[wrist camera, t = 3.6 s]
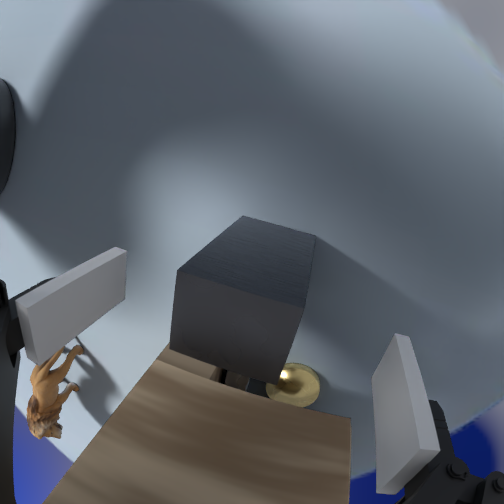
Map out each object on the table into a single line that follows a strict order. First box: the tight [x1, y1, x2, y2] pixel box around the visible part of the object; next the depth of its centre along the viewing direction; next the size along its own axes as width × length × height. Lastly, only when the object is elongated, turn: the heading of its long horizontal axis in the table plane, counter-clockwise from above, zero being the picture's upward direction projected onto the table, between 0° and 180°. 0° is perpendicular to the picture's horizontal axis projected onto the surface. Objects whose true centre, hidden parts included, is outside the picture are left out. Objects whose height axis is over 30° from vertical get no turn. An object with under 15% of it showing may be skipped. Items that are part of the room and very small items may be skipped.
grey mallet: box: [169, 216, 316, 392], centre depth 20 cm, size 22×5×10 cm, turn 168°
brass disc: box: [266, 363, 320, 407], centre depth 25 cm, size 4×4×1 cm
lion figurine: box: [27, 345, 84, 439], centre depth 28 cm, size 15×5×9 cm, turn 161°
